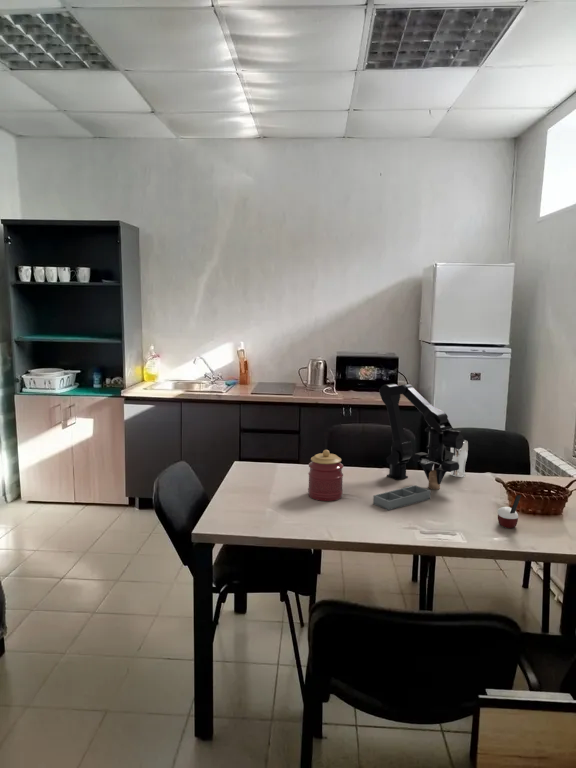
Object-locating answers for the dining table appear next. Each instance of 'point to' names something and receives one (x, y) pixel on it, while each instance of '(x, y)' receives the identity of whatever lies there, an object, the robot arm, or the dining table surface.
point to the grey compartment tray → (401, 497)
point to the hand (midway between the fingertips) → (434, 482)
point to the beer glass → (460, 459)
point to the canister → (325, 477)
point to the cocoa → (509, 514)
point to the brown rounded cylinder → (433, 480)
